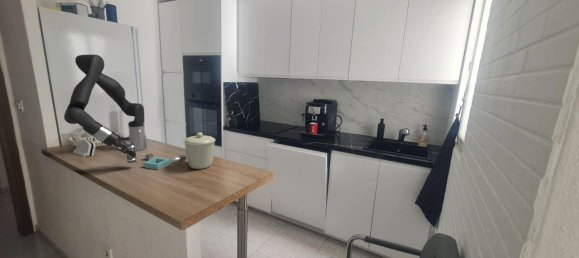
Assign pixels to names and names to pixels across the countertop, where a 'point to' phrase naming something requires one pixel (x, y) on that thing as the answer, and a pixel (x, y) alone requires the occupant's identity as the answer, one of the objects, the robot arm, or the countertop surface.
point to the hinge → (85, 148)
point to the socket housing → (156, 163)
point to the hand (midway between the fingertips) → (135, 154)
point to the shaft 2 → (178, 159)
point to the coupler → (129, 157)
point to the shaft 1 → (149, 157)
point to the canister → (199, 150)
